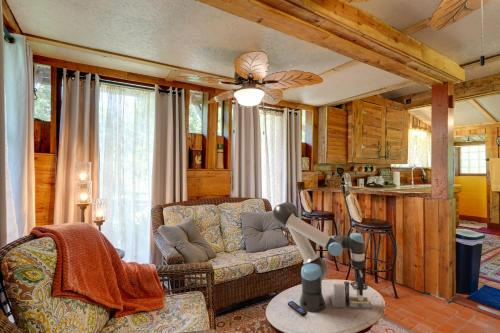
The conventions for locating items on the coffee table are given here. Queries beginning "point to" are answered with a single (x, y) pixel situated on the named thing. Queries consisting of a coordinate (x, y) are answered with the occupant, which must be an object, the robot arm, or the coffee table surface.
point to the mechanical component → (357, 285)
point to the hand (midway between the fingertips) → (360, 298)
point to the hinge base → (350, 305)
